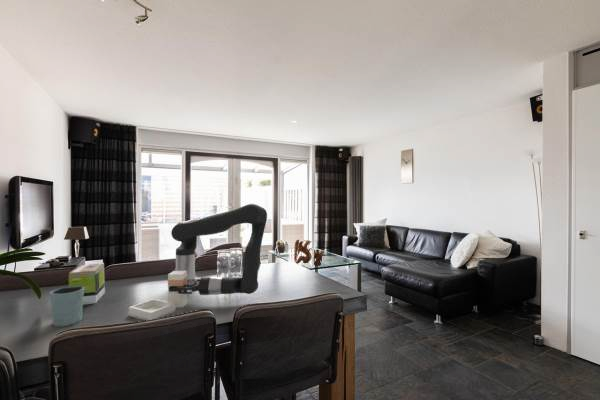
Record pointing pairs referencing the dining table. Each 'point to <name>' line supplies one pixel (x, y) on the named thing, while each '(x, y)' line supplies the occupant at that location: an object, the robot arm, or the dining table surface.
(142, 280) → the dining table surface
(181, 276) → the carton
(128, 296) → the dining table surface
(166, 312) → the white rectangular dish
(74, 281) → the tea box
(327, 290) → the dining table surface
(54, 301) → the light blue cup
